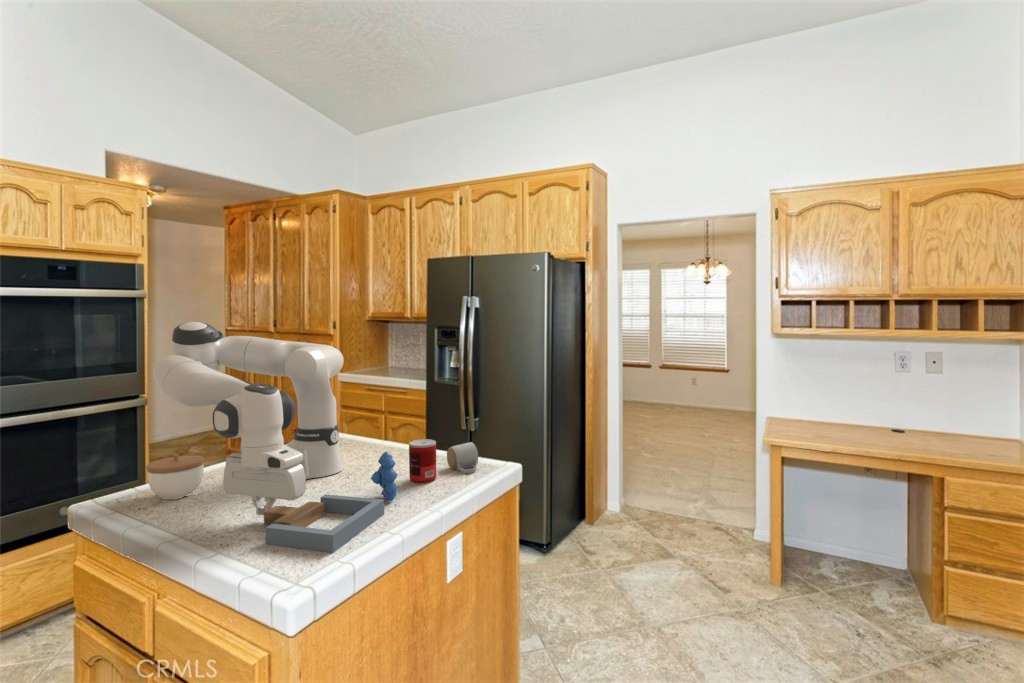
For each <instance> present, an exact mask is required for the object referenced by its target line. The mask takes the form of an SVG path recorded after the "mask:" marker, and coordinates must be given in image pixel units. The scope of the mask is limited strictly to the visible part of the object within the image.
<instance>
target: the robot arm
mask: <svg viewBox="0 0 1024 683" xmlns="http://www.w3.org/2000/svg"><path fill="white" fill-rule="evenodd" d="M171 341H172V342H173V343H172V344H173V345H172V347H173V348H172V354H170V355H166V356H164V357H162V358H161V359H159V360H158V361H157V362H156V363H155V365H154V366H153V369H152V377H153V380H154V381H155V383H156V385H157V386H158V388H159V389H160V390H161V391H162V392H163V393H164V394H165V395H167V396H168V397H169V398H170V399H172V401H175V402H176V403H178V404H181V405H184V406H188V407H196V408H197V407H205V406H206V407H207V406H214V405H215V407H214V410H213V411H212V426H213V429H214V431H216V433H217V434H218V435H220V436H222V437H223V438H224V439H237V438H240V439H241V441H240V453H238V452H232V453H230V454H228V456H227V457H226V458H225V466H224V470H223V479H222V488H223V491H224V492H225V494H229V495H230V494H231V495H237V496H239V495H240V496H249V497H251V502H252V504H253V505H254V507H255V513H256V515H257V516H264V512H265V511H267V510H269V509H271V508H272V507H274V505H275V503H276V500H285V501H295V500H298V499H300V498H301V497H303V496H304V495H305V492H306V489H307V488H306V480H308V479H309V480H310V479H313V478H314V479H315V478H322V477H327V476H332V475H335V474H338V473H340V472H341V471H343V470H344V466H343V463H342V459H341V454H340V448H339V433H340V432H339V424H338V423H337V422H338V421H337V420H338V419H337V418H338V417H337V399H336V396H334V393H333V391H332V387H331V386H332V385H331V381H330V379H331V378H333V377H335V376H336V375H337V374H338V373H339V372H340V371H341V370H342V369H343V367H344V359H345V358H344V355H343V354H342V352H341V351H340V350H339V349H338V348H337V347H334V346H332V345H328V344H322V343H312V342H302V341H291V340H280V339H275V338H274V339H273V338H267V337H258V336H253V335H252V336H249V335H229V336H225V337H224V334H223V332H221V330H217V329H216V328H215V327H213V326H212V325H210V324H209V323H206V322H203V321H202V322H201V321H189V322H183V323H180V324H178V325H177V326H176V327H175V328H174V329H173V332H172V336H171ZM220 366H224V367H227V368H229V369H231V370H236V371H240V372H245V373H251V374H259V375H266V376H273V377H288V378H289V379H290V381H291V383H292V387H293V389H294V393H295V397H296V403H297V406H296V403H295V401H294V400H293V398H292V397H291V396H290V395H289V394H288V393H287V392H285V391H284V390H280V389H279V388H278V387H276V386H275V385H272V384H268V383H267V384H266V383H265V384H264V383H253V382H250V381H247V380H244V379H242V378H239V377H235V376H233V375H229V374H226V373H223V372H221V371H220ZM296 413H297V422H298V423H297V424H298V425H297V427H296V428H294V429H291V430H290V434H291V435H292V434H294V435H293V437H292V438H293V439H291V441H289V442H288V443H286V444H285V443H284V442H285V439H284V435H283V431H285V430H287V429H288V427H289V426H290V425H291V424H292V423H293V421H294V419H295V417H296ZM262 498H264V501H263V499H262ZM264 502H266V503H265V504H264Z"/></svg>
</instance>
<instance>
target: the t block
mask: <svg viewBox="0 0 1024 683" xmlns="http://www.w3.org/2000/svg"><path fill="white" fill-rule="evenodd" d="M323 515H324V516H325V512H324V503H322V502H321V501H311V500H310V501H307V502H305V503H304V504H302V505H300V506H299V507H296V506H295V507H294V506H283V505H273V506H272V508H271V509H269V510H267V511H265V512H264V515H263V523H264V524H263V525H264V526H269V525H271V524H281V525H289V526H298V527H306V526H307V527H308V526H309V524H310V525H311V524H312V523H314V522H316V521H317V519H318V520H320V519H321V518H322V517H324V516H323ZM320 517H321V518H320Z"/></svg>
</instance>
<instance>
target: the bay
mask: <svg viewBox="0 0 1024 683" xmlns="http://www.w3.org/2000/svg"><path fill="white" fill-rule="evenodd" d="M319 500H320V501H319V502H322V503H324V513H325V512H326V513H332V512H336V513H335V514H341V513H346V514H345V515H351V514H354V515H351V516H349V517H348V518H346V519H345V520H343V521H341V522H339V523H338V524H337V525H336V526H334V527H333V528H331V529H323V528H314V527H308V526H307V527H298V526H289V525H281V524H271V525H266V526H265V528H264V529H265V531H264V532H265V545H268V546H269V545H271V546H276V547H278V546H280V547H286V548H295V549H302V550H308V551H309V550H310V551H318V552H319V551H320V552H326V553H333V554H334V553H335V552H336V551H337V549H338V550H339V549H340V548H342V547H343V546H344V545H345V543H346V544H347V543H348V542H350V541H351V540H352V539H353V538H355V537H357V535H358V534H360V533H362V532H363V531H364V530H366V529H367V528H368V527H370V525H372V524H373V523H375V522H376V521H378V520H379V519H380V518H382V517H383V516H384V515H385V499H378V498H370V497H360V496H359V497H358V496H348V495H347V496H345V495H339V494H338V495H337V494H336V495H335V494H324V495H321V496H320V499H319ZM341 546H342V547H341Z"/></svg>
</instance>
